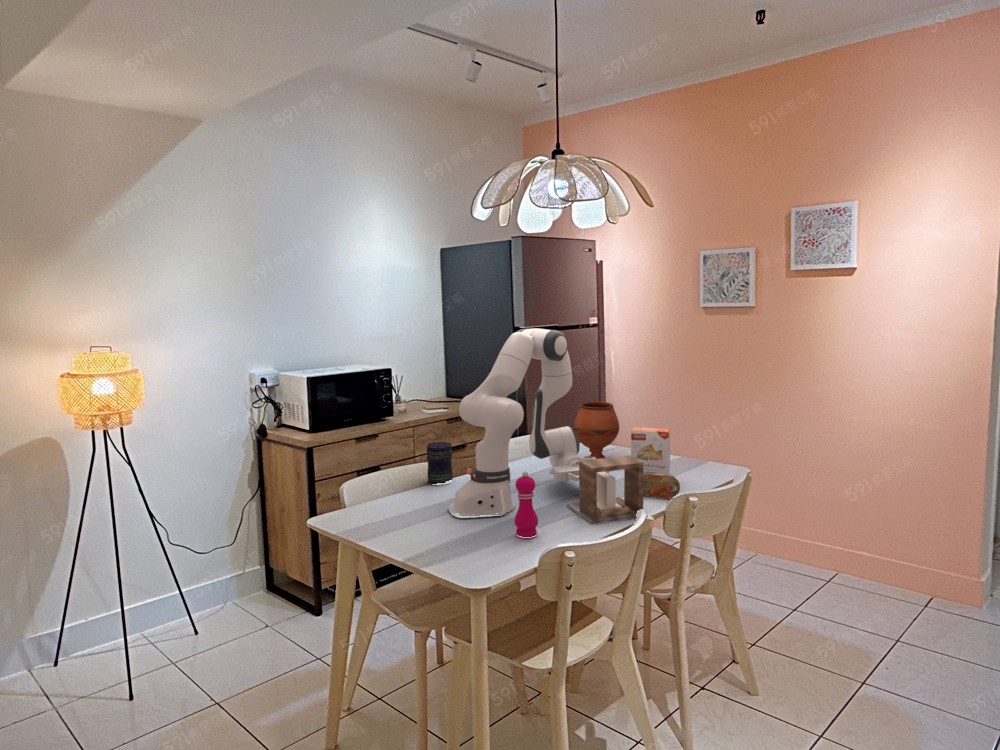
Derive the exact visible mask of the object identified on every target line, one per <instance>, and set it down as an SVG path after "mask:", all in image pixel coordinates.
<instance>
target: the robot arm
mask: <svg viewBox="0 0 1000 750" xmlns="http://www.w3.org/2000/svg"><path fill="white" fill-rule="evenodd" d="M568 347H569V344H568V338H567V337H566V335H565V334H564V333H563V332H561V331H559V330H555V329H545V328H536V327H535V328H522V329H519V330H517V331H516V332H513V333H511V335H509V337H508V338H507V339H506V341H505V342H504V344H503V346H502V348H501V349H500V352H499V354H498V356H497V358H496V360H495V362H494V364H493V366H492V368H491V371H490V372H489V373H488V375H487V377H486V378H485V379H484V381H483V382H482V383H481V384H480V385H479V386H478V387H477V388H476V389H475V390H474V391H473V392H471V393H469V394H467V395H465V396H464V397H463V398H462V399H461V401H460V403H459V408H458V411H459V416H460V418H461V419H462V421H463V422H465V423H468V424H469V425H472V426H476V427H481V428H485V433H484V436H483V439H482V440H480V441H478V442H477V444H476V445H475V448H474V449H475V468H474V469H472V468H470V467H469V468H467V470H466V474H467V475H468V476H470V480H468V482H466V483H465V484H464V485H463V486H461V487H460V488H459V489H457V491H456V493H455V496H454V502H453V503H451V504H452V505H450V504H449V505H448V507H447V509H448V508H449V511H451V513H453V514H454V515H455V513H459V515H460V516H480V515H503V514H505V513H506V512H508V511H510V510H512V509H513V508H514V509H515V504H514V502H513V497H512V494H511V486H510V485H511V469H510V467H509V445H510V441H511V438H512V436H513V434H514V432H515V431H516V430H517V429H519V427H520V426H521V425H522V423H523V421H524V415H525V413H524V408H523V406H522V404H521V403H519V402H518V401H516V400H514V399H511V398H509V397H508V396H509V395H510V394H512V393H514V392H516V391H517V390H518V389H519V388H520V386H521V384H522V383H523V380H524V378H525V375H526V372H527V371H528V368H529V365H530V363H531V360H532V359H533V360H536V361H537V360H538V361H539V360H540V361H541V382H540V385H539V388H537V390H536V391H535V393H534V397H533V404H532V405H533V406H532V416H531V417H532V419H531V429H530V436H529V442H528V445H529V450H530V453H531V454H532V455H533V456H534V457H535V458H538V459H540V460H542V459H545V458H546V459H547V458H548V457H549V459H548V460H549V463H550V465H551V467H552V468H551V469H549V471H548V473H549V474H551V475H552V476H553V478H554V480H556V481H557V482H565V481H574V482H579V461H582V460H591V459H596V458H595V457H589V456H582V455H578V454H579V452H580V447H581V442H580V441H579V437H578V435H577V433H576V432H575V431H574V428H573V427H571V426H569V425H567V426H561V427H557V428H553V429H552V428H551V429H547V430H545V429H546V428H545V424H546V413H547V410H548V408H549V407H550V406H551V405H552V404H554V403H555V402H556V401H558V400H559V399H561V398H562V397H564V396H565V395H567V394H568V393H569V391H571V388H572V386H573V373H572V372H573V371H572V364H571V363H572V362H571V358H570V354H569V351H568ZM605 472H606V473H608V474H609V472H610V471H605ZM449 506H454V507H449ZM514 509H513V510H514ZM513 510H512V511H513ZM510 512H511V511H510ZM496 513H498V514H496ZM508 513H509V512H508ZM473 514H474V515H473ZM506 514H507V513H506ZM506 514H505V515H506Z"/></svg>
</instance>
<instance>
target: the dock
mask: <svg viewBox="0 0 1000 750" xmlns="http://www.w3.org/2000/svg"><path fill="white" fill-rule="evenodd" d="M621 470H623V471H624V472H623V473H624V475H623V476H624V477H623V480H624V481H623V482H624V486H623V487H624V489H623V490H624V494H623V495H624V497H623V498H622V497H621V496H617V497H616V503H618V504H619V505H621V506H622V508H618V509H611V510H603V511H597V472H605V471H609V472H611V471H612V472H614V471H621ZM578 484H579V485H578V486H579V487H578V491H579V494H578V495H579V501H578V502H576V501H575V502H569V503H566V507H567V508H568V509H569V510H570V511H572V512H573V513H575V514H576V515H577V516H579V517H580V518H581V519H582V520H584V521H585V522H586V523H588V524H589V525H597V524H604V523H610V522H617V521H624V520H625V521H626V520H631V519H636V518H635V517H636V514H637V511H638V510H640V509H643V510H644V496H643V462H641V461H639V460H637V459H635V458H633V457H631V455H621V456H612V457H611V456H610V457H606V458H600V459H591V460H582V461H579V481H578Z"/></svg>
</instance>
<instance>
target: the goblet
mask: <svg viewBox="0 0 1000 750" xmlns="http://www.w3.org/2000/svg"><path fill="white" fill-rule="evenodd" d="M578 407H579V408H578V411H577V415H576V417H575V421H574V425H573V430H574V431H575V432H576V433H577V435H578V437H579V442H580V444H582V445H583V446H585V447H586V448H588V449H589V452H590V453H591V454H590V455H589V456H588V457H595V458H596V459H600V458H607V457H606V456H605V455H604V454H603V453H602V452H603V451H604V448H606V447H608V446H609V445H610V444H612V443H613V442H614V441H615V440H616V439H617V437H618V436H619V433H620V421H619V418H618V416H617V413H616V410H615V409H614V405H613V403H612V402H607V401H597V400H596V401H587V402H583V403H580V404H579V406H578Z"/></svg>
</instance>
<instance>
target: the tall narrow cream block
mask: <svg viewBox="0 0 1000 750" xmlns="http://www.w3.org/2000/svg"><path fill="white" fill-rule="evenodd" d="M616 492H617V491H616V477H615V476H613V475H612V474H609V473H606V472H597V511H603V510H611V509H618V508H622V506H621V505H619V504H618V503H616Z"/></svg>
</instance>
